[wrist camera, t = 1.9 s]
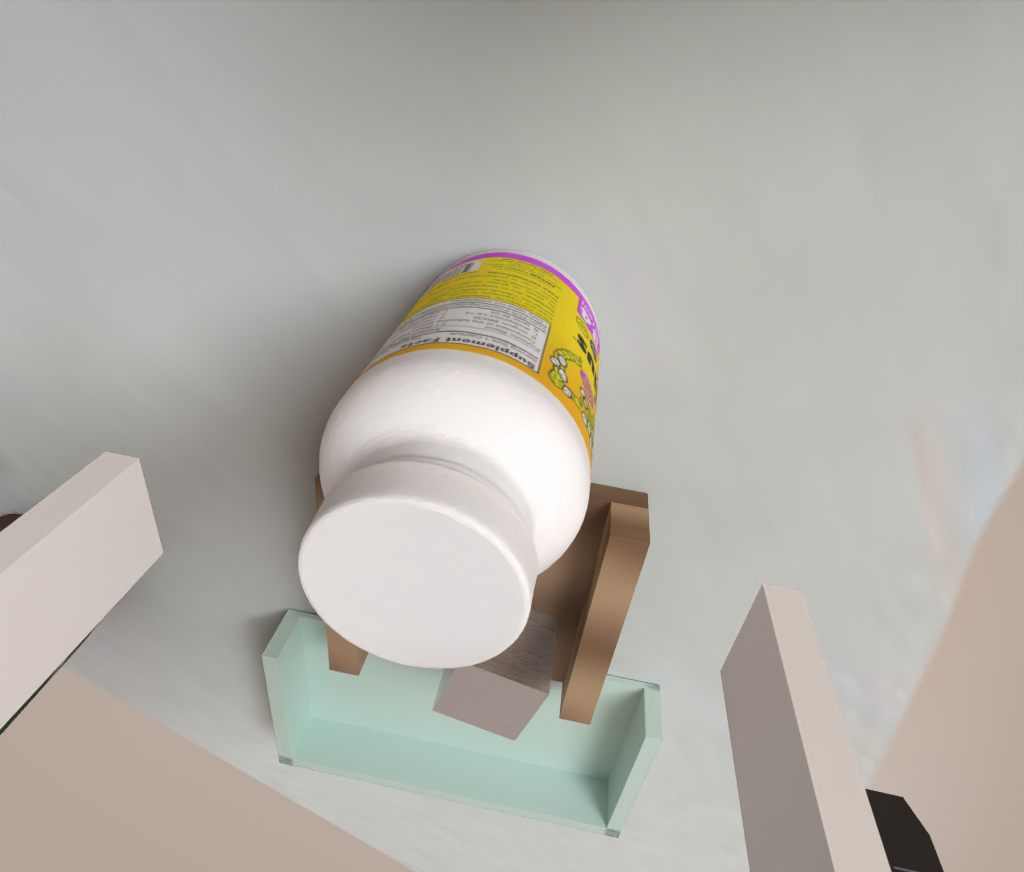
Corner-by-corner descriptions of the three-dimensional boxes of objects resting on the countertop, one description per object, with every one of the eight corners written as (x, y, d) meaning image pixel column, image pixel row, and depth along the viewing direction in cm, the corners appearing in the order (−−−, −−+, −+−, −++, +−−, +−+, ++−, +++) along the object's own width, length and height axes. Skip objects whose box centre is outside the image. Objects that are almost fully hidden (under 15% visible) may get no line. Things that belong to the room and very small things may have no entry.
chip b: (478, 588, 29) (459, 660, 25) (557, 619, 29) (549, 694, 26) (452, 638, 31) (432, 710, 28) (526, 666, 31) (514, 741, 28)
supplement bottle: (574, 429, 24) (537, 733, 14) (413, 389, 25) (252, 657, 14) (625, 267, 21) (627, 511, 10) (434, 220, 21) (237, 411, 10)
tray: (288, 609, 33) (261, 655, 31) (659, 685, 32) (662, 740, 30) (301, 716, 39) (279, 762, 36) (618, 784, 38) (617, 837, 35)
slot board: (344, 436, 26) (315, 478, 24) (647, 493, 26) (650, 542, 23) (351, 622, 33) (329, 669, 31) (592, 671, 32) (589, 725, 30)
